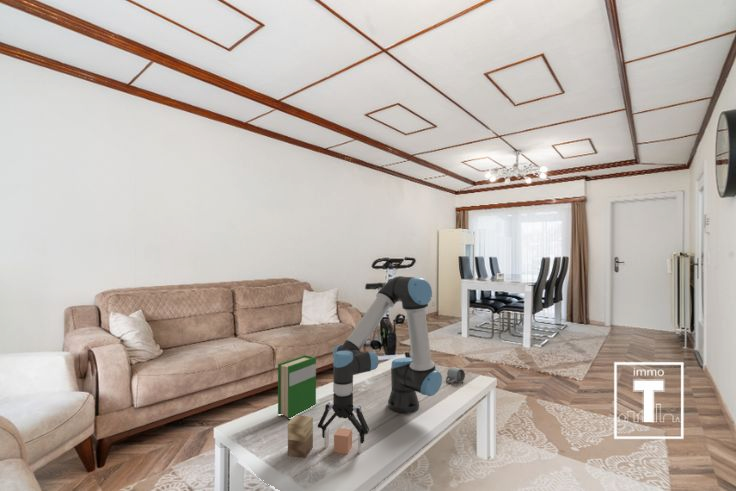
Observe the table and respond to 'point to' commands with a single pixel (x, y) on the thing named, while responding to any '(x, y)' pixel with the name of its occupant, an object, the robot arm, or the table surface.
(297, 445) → the walnut base block
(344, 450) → the terracotta block
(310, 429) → the oak middle block
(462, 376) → the ceramic mug
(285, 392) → the hardback book
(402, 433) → the table surface
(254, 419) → the table surface
